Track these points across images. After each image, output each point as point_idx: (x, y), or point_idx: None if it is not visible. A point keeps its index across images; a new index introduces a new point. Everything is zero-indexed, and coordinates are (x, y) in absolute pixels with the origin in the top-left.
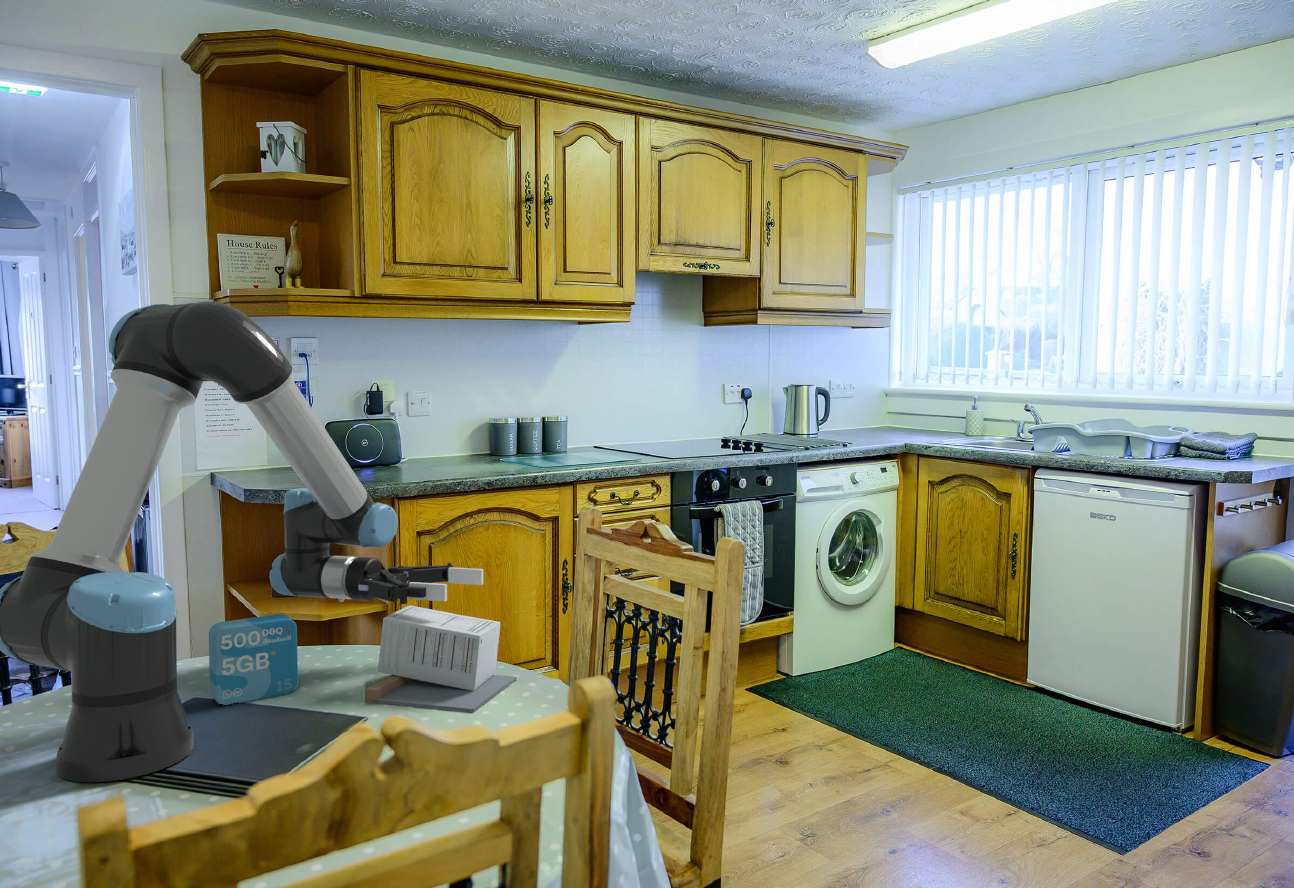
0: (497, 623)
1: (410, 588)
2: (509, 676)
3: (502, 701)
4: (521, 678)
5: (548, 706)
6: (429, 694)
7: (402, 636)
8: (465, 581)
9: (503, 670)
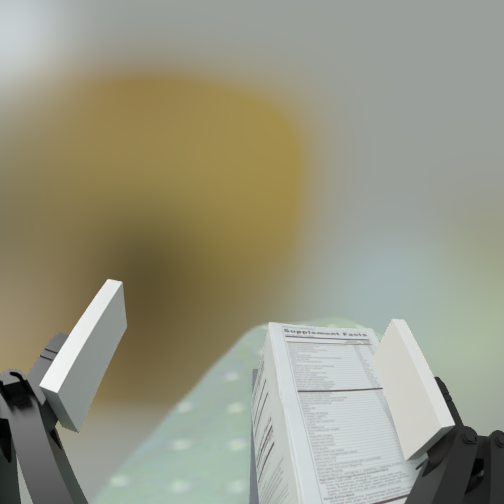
0: (281, 324)
1: (457, 412)
2: (255, 377)
3: None
4: (244, 367)
5: (333, 323)
6: None
7: None
8: (103, 364)
9: (206, 399)
